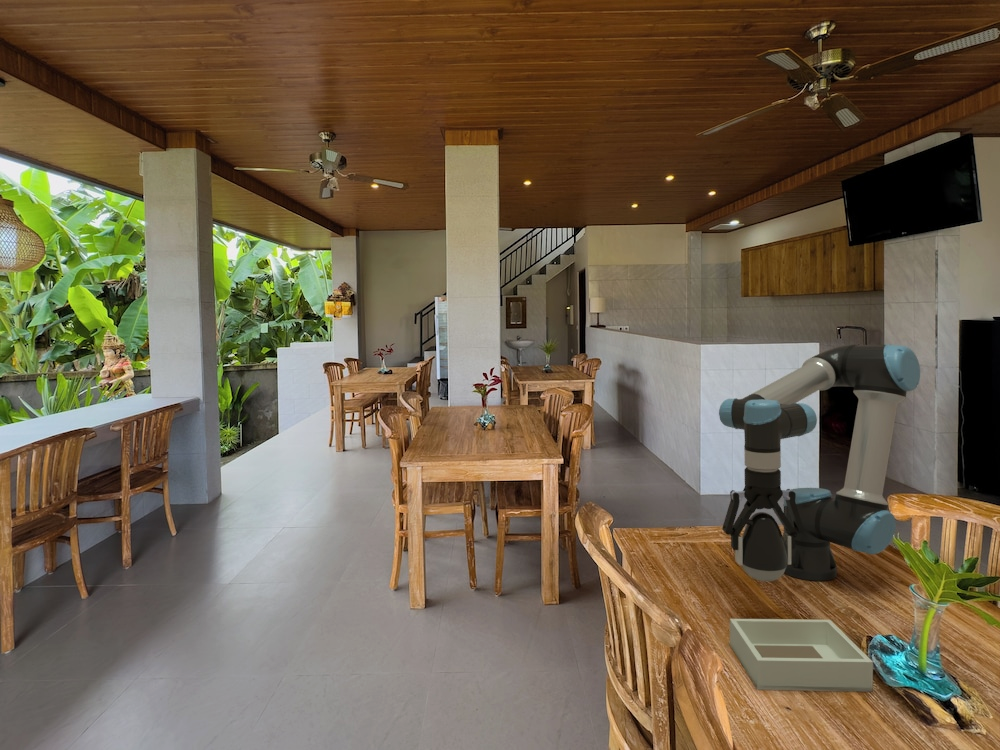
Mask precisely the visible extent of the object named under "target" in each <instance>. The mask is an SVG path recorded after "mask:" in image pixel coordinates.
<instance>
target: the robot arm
mask: <svg viewBox="0 0 1000 750" xmlns="http://www.w3.org/2000/svg"><path fill="white" fill-rule="evenodd" d="M920 379H921V365H920V362H919V359H918V357H917V355H916V353H915V352H914V351H913V350H912V349H911V348H910V347H909V346H906V345H897V344H891V343H888V344H845V345H841V346H836V347H833V348H830V349H828V350H825V351H822V352H820V353H818V354H816V355H814V356H812V357H810V358H808V359H806V360H805V361H804V362H803V364H802V365H801V367H800V368H797V369H796V370H793V371H791V372H790V373H788V374H786V375H784V376H783V377H781V378H779V379H777V380H775V381H773V382H771V383H769V384H768V385H766V386H764V387H762V388H760V389H758V390H755V391H754V392H753V393H751V394H749V395H747V396H745V397H743V398H740V399H739V398H737V397H735V398H727V399H725V400H724V401H723V402H722V403H721V404H720V406H719V409H718V417H719V420H720V422H721V423H722V424H723V425H724V426H726V427H727V428H728V427H729V428H733V429H735V430H743V431H744V432H743V433H744V434H743V435H744V452H743V453H744V466H745V468H744V488H743V490H739V491H736V490H732V489H731V490H730V492H729V494H730V495H729V496H730V501H729V504H728V508H727V512H726V514H725V517H724V520H723V521H724V522H723V525H722V528H721V529H722V531H723V532H724V533H725V534H726V535H727V536H728V535H729V536H730V546H731V549H732V550H733V551H734V553H735V554H734V558H735V559H734V561H735V562H736V563H737V564H738V565H739V566H742V565H743V546H742V536H741V533H742V531H744V529H745V527H746V525H747V524H746V523H747V522H743V521H740V518H741V517H743V519H744V520H746V521H748V520H749V519H750V518H751V517H752V516H753V514H755V513H756V510H763V509H766V510H773V512H774V514H775V515H776V517H777V519H778V520H779V522H780V523H781V525H782V526H783V532H782V536H783V539H784V542H785V546H786V552H787V559H788V565H787V567H786V569H785V572H784V574H785V575H787V576H789V577H793V578H796V579H800V580H804V581H814V582H815V581H816V582H817V581H818V582H820V581H821V582H823V581H825V582H826V581H831V580H833V579H835V578H837V575H838V565H837V562H836V560H835V557H834V555H833V554H834V553H833V551H832V548H831V544H835V545H838V546H841V547H845V548H847V549H851V550H853V551H855V552H860V553H864V554H867V555H877V554H879V553H882V552H883V551H884V550H885V549H887V548H888V547H889V545H890V543H891V542H892V540H893V538H894V536H893V535H895V532H896V528H897V524H896V523H897V522H896V518H895V515H894V514H893V513H892V512H891V511H889V510H888V508H889V503H888V502H887V500H886V499H885V498H884V496H883V494H884V488H885V481H886V476H887V469H888V462H889V456H890V452H891V451H890V450H891V445H892V440H893V439H892V438H893V435H894V434H893V433H894V427H895V421H896V415H897V409H898V404H900V403H901V402H903V401H905V400H906V397H907V393H908V392H912V391H914V390H916V389H917V388H918V385H919V384H920ZM833 387H850V388H851V387H852V388H853V391H852V392H853V394H854V395H855V396H856V397H857V399H858V402H857V406H856V407H857V408H856V412H855V413H856V414H855V419H854V424H853V425H854V426H853V432H852V437H851V444H850V449H849V455H848V461H847V465H846V466H847V467H846V473H845V479H844V485H843V487H842V488H841V489H839V490H838V491H836V492H835V493H836V494H835V497H834V498H833V497H832V496H833V494H832V492H831V490H829V489H826V488H820V487H799V488H797V487H796V488H791V489H790V488H787V489H785V490H784V489H782V487H781V484H782V483H781V481H782V478H781V477H782V471H781V470H780V468H781V467H782V462H781V461H782V460H781V458H782V456H781V455H782V453H781V452H782V451H781V447H782V446H781V441H782V440H784V439H788V438H789V439H790V438H796V437H801V436H804V435H806V434H807V435H808V434H810V433H811V432H813V431H814V429H815V428H816V426H817V423H818V418H817V414H816V412H815V410H814V409H813V407H811V406H810V405H808V404H806V403H801V402H800V401H801V400H803V399H806V398H807V397H809V396H810V395H813V394H814V393H817V392H818V391H826V390H830V389H831V388H833ZM798 402H799V403H798ZM782 497H783V505H782V507H783V510H782V508H781V506H780V503H778V502H779V501H780V500H781V498H782ZM743 498H745V499H746V501H745V503H744V505H743V508H742V510H741V512H740V513H739V515H738V517H737V514H738V511H739V507H740V504H741V503H740V502H741V501H742V499H743ZM743 519H742V520H743Z"/></svg>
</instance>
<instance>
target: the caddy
mask: <svg viewBox="0 0 1000 750" xmlns="http://www.w3.org/2000/svg"><path fill="white" fill-rule="evenodd" d="M729 646H730V647H731V649H732V651H733V653H734V654H735V656H736V658H737V660H738V661H739V662H740V664H741V665H742V667H743V668H744V670H745V672H746V673H747V675H748V677H749V679H750V680H751V682H752V683H753V685H754V687H755V689H756V690H757V691H804V692H805V691H806V692H808V691H809V692H811V691H812V692H814V691H815V692H816V691H817V692H856V693H857V692H862V693H863V692H865V693H866V692H868V693H869V692H872V693H873V685H874V683H873V681H874V680H873V678H874V677H873V676H874V661H873V660H872V659H870V657H868V655H866V653H864V651H862V650H861V649H860V648H859V646H858V645H856V644H855V642H854V641H852V640H851V638H849V636H847V634H845V633H844V632H843V631H842V630H841V629H840V628H839V627H838V626H837V625H836V624H835V623H834V622H833V621H832V620H831V619H804V618H803V619H798V618H797V619H796V618H795V619H793V618H792V619H787V618H785V619H783V618H782V619H781V618H778V619H777V618H729Z"/></svg>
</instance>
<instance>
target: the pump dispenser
mask: <svg viewBox="0 0 1000 750" xmlns="http://www.w3.org/2000/svg"><path fill="white" fill-rule="evenodd" d="M742 519H743V517H741V518H740V521H743V522H747V523H746V525H745V526H744V529H743V533H742V536H741V537H742V546H743V565H741V567H742V569H743V571H744V572H745V574H747V576H748V577H751V578H752V579H754V580H757V581H761V582H774V581H777V580H779V579H780V578H781V577H782V576H783V575H784V574H785V573H784V572H785V569H786V567H787V565H788V559H787V552H786V546H785V542H784V539H783V532H781V529H780V526H779V524H778V522H777V521H776V519H775V518H774V517H773V516H772V515H771V513H768V512H764V511H759V512H754V513H753V514H752V515H751V516H750V518H749V520H748V521H746V520H744V519H743V520H742Z"/></svg>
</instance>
